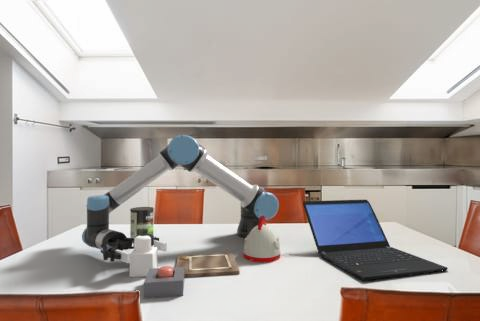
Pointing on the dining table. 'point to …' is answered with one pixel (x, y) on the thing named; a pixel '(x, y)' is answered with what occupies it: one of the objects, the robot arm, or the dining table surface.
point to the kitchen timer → (261, 244)
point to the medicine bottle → (142, 256)
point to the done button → (165, 272)
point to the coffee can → (141, 221)
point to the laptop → (359, 241)
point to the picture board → (208, 265)
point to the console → (164, 284)
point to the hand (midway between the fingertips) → (148, 252)
